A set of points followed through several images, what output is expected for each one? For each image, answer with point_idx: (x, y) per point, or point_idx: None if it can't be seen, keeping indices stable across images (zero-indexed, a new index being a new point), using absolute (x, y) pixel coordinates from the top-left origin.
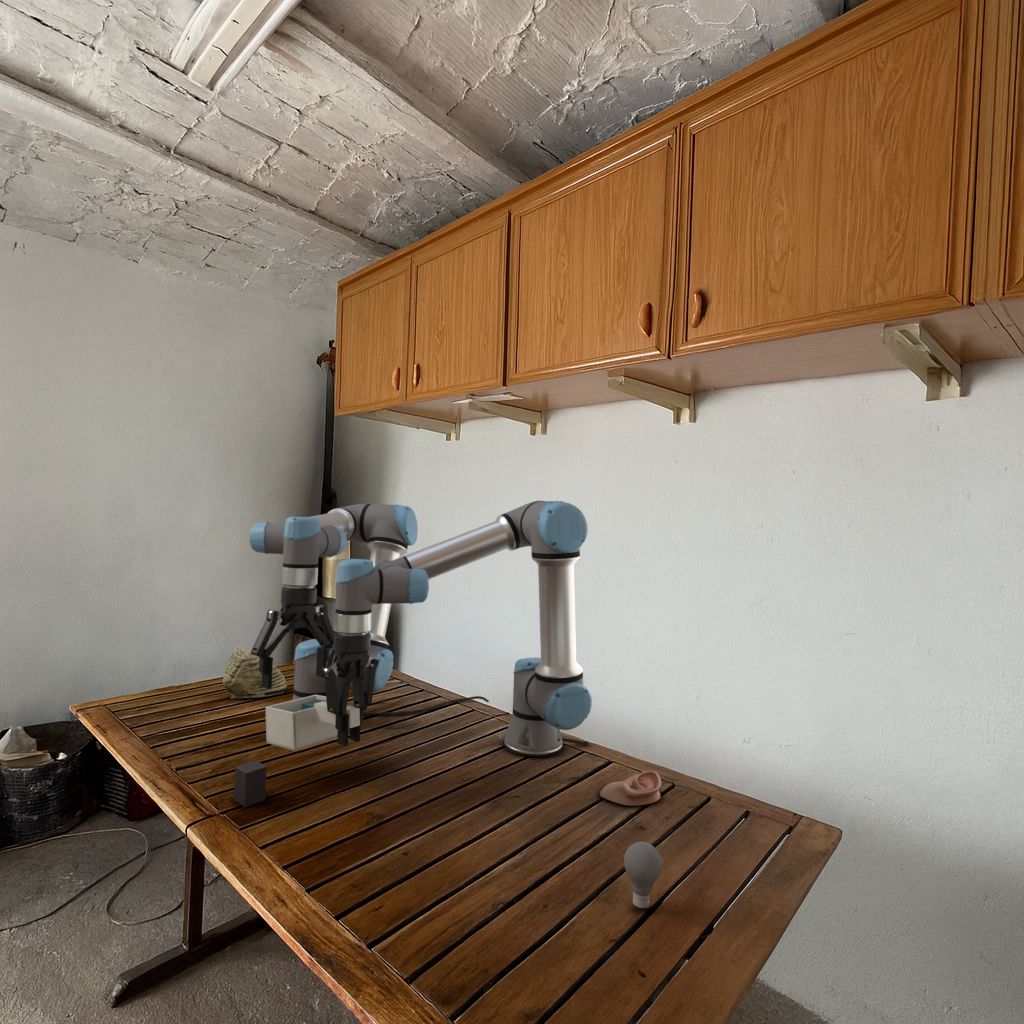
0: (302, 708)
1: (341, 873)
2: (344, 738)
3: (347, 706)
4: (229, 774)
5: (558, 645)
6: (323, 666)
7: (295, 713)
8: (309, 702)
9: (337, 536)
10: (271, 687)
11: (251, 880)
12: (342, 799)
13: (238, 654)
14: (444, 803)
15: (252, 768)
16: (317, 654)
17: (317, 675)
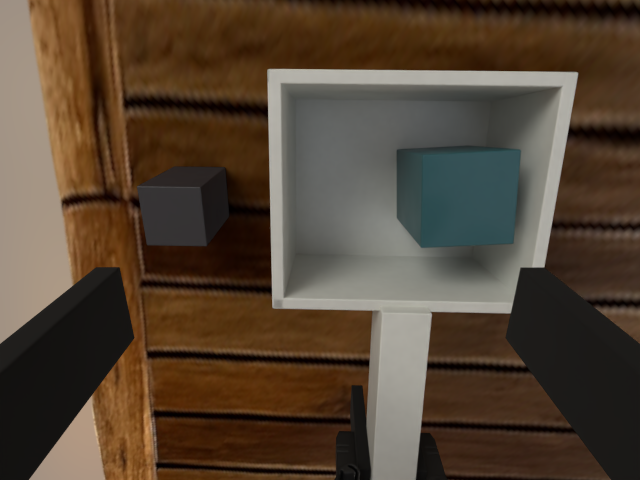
0: (417, 159)
1: (210, 466)
2: (351, 428)
3: (410, 471)
4: (223, 6)
5: None
6: (547, 393)
7: (283, 307)
8: (456, 171)
9: None
10: (130, 342)
11: (106, 408)
12: (346, 321)
13: None
14: (457, 444)
15: (170, 232)
16: (634, 382)
17: (519, 285)
